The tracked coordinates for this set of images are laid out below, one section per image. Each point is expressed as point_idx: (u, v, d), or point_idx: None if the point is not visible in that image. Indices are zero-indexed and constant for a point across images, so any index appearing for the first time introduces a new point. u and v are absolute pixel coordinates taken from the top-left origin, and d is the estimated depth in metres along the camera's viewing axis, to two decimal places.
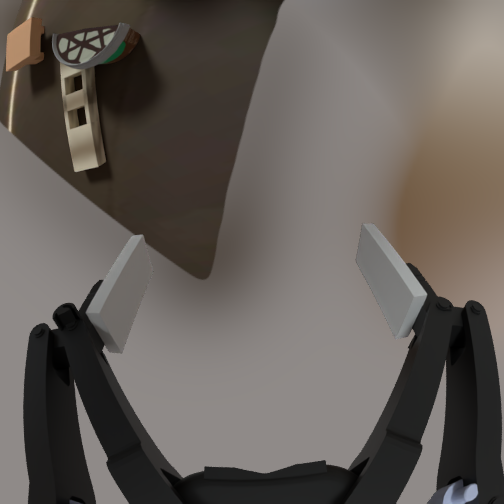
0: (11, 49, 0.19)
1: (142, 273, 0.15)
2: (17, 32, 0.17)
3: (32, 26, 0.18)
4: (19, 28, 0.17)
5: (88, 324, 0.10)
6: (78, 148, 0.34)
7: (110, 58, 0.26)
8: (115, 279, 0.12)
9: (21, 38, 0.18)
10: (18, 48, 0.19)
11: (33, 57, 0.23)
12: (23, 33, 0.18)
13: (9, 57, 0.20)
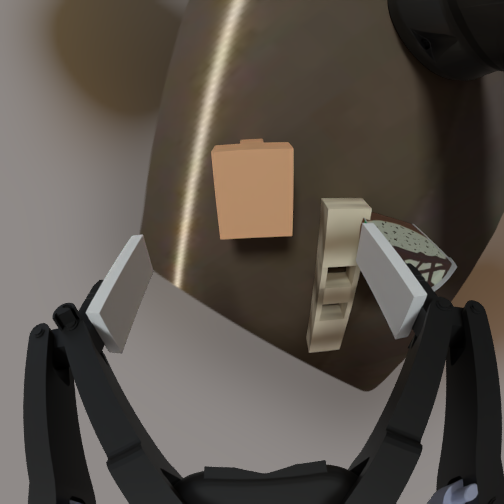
0: (231, 197, 0.23)
1: (142, 273, 0.15)
2: (250, 165, 0.21)
3: None
4: (255, 157, 0.21)
5: (88, 324, 0.10)
6: (323, 336, 0.38)
7: None
8: (115, 279, 0.12)
9: (266, 187, 0.22)
10: (256, 206, 0.23)
11: None
12: (271, 178, 0.22)
13: (228, 214, 0.23)
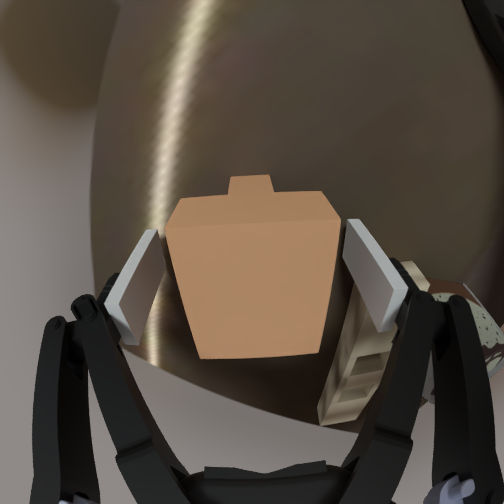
0: (213, 307, 0.12)
1: (156, 267, 0.15)
2: (249, 254, 0.10)
3: None
4: (258, 239, 0.10)
5: (106, 316, 0.10)
6: (339, 413, 0.27)
7: None
8: (132, 271, 0.12)
9: (279, 292, 0.11)
10: (260, 319, 0.12)
11: None
12: (291, 276, 0.11)
13: (210, 330, 0.13)
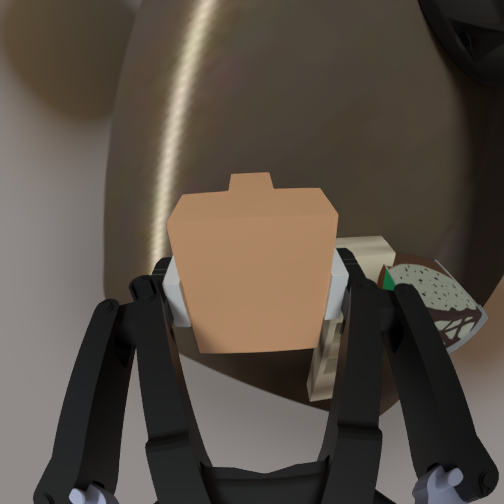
0: (214, 301, 0.12)
1: None
2: (248, 248, 0.11)
3: None
4: (258, 233, 0.10)
5: (162, 297, 0.11)
6: (327, 387, 0.31)
7: None
8: None
9: (278, 286, 0.12)
10: (260, 313, 0.13)
11: None
12: (290, 271, 0.11)
13: (210, 324, 0.13)
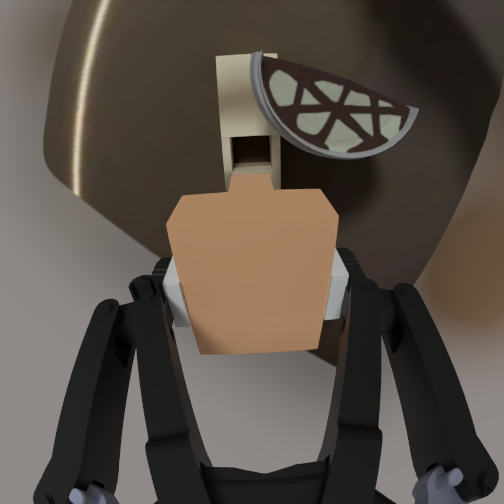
0: (214, 302, 0.12)
1: None
2: (248, 250, 0.11)
3: None
4: (258, 235, 0.10)
5: (162, 297, 0.11)
6: None
7: None
8: None
9: (278, 287, 0.12)
10: (260, 315, 0.13)
11: None
12: (290, 272, 0.11)
13: (210, 325, 0.13)
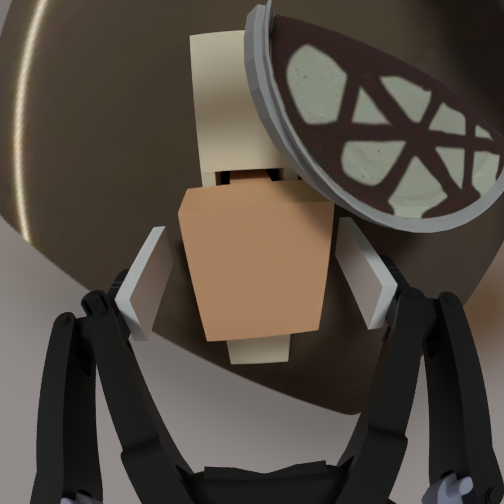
0: (221, 287, 0.13)
1: (164, 264, 0.15)
2: (254, 234, 0.12)
3: None
4: (263, 220, 0.11)
5: (116, 311, 0.11)
6: None
7: None
8: (142, 267, 0.12)
9: (281, 269, 0.13)
10: (264, 297, 0.14)
11: None
12: (292, 254, 0.12)
13: (217, 310, 0.14)
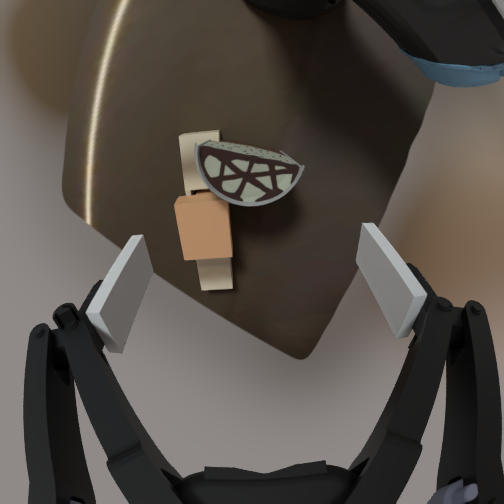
0: (189, 233, 0.34)
1: (142, 273, 0.15)
2: (199, 212, 0.33)
3: (228, 213, 0.34)
4: (202, 207, 0.32)
5: (88, 324, 0.10)
6: (210, 270, 0.41)
7: None
8: (115, 279, 0.12)
9: (211, 226, 0.34)
10: (206, 238, 0.35)
11: None
12: (214, 220, 0.33)
13: (188, 243, 0.35)
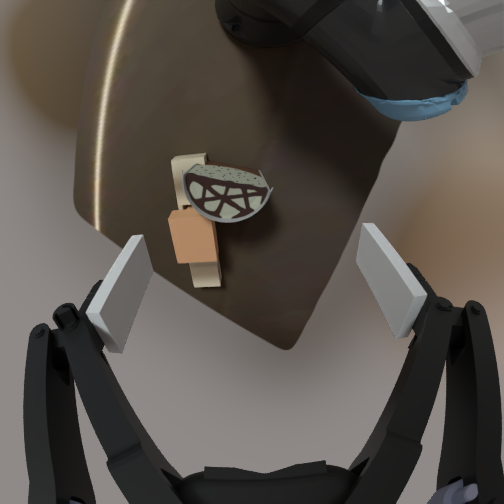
0: (181, 241, 0.41)
1: (142, 273, 0.15)
2: (189, 225, 0.40)
3: (212, 225, 0.40)
4: (190, 221, 0.39)
5: (88, 324, 0.10)
6: (200, 270, 0.48)
7: None
8: (115, 279, 0.12)
9: (198, 236, 0.41)
10: (195, 245, 0.42)
11: None
12: (201, 231, 0.40)
13: (180, 250, 0.42)
